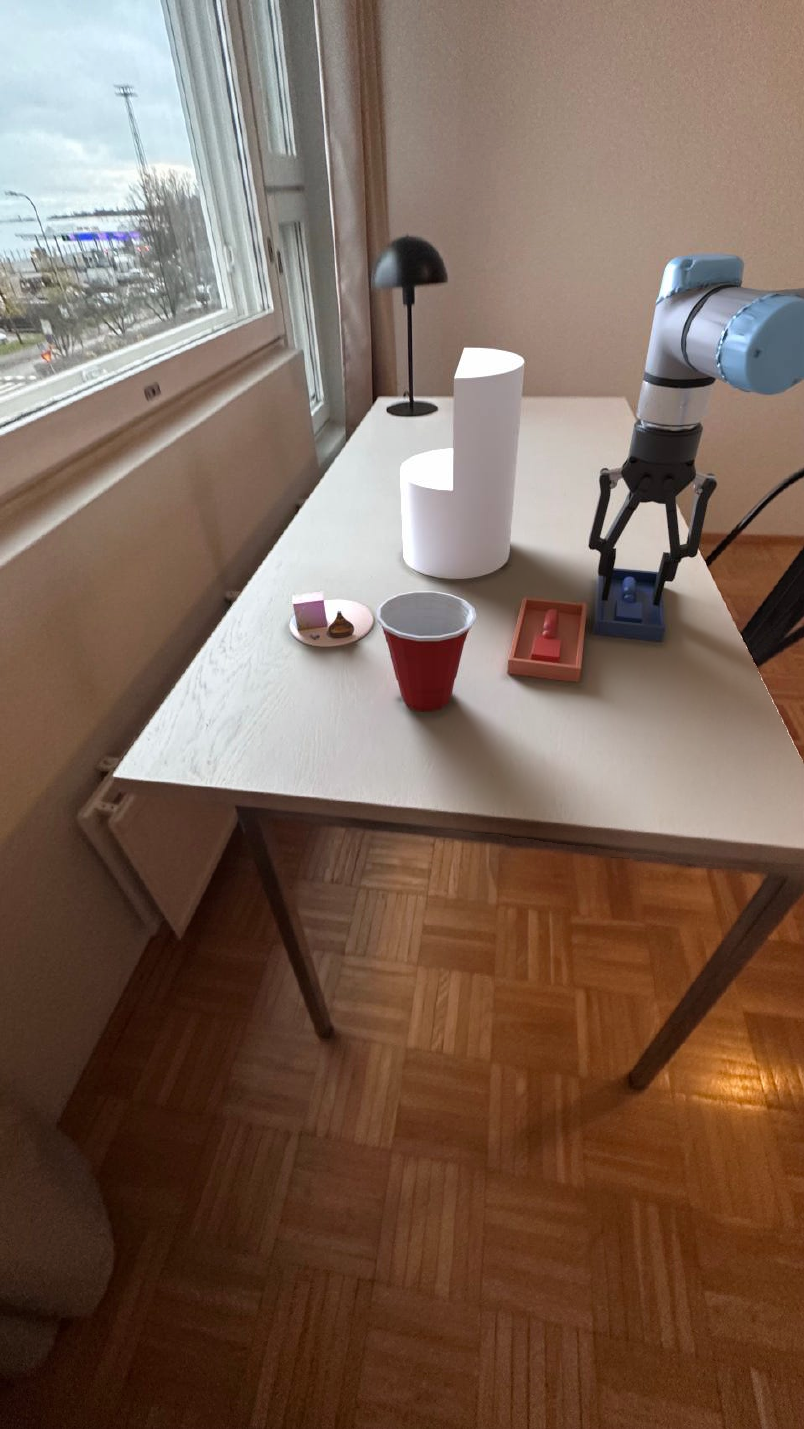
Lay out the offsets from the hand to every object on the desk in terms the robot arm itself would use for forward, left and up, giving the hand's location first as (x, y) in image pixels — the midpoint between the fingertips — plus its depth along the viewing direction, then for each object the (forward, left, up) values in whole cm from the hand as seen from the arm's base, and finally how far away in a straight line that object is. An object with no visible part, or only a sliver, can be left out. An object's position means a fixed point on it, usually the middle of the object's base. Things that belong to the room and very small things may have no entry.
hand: (630, 597), depth 87 cm
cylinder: (+27, -12, -2) cm, 30 cm away
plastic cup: (+23, +25, -2) cm, 34 cm away
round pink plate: (+40, +12, -2) cm, 42 cm away
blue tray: (0, 0, -2) cm, 2 cm away
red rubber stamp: (+10, +11, -1) cm, 15 cm away
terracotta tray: (+10, +11, -2) cm, 15 cm away
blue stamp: (0, 0, -1) cm, 1 cm away
